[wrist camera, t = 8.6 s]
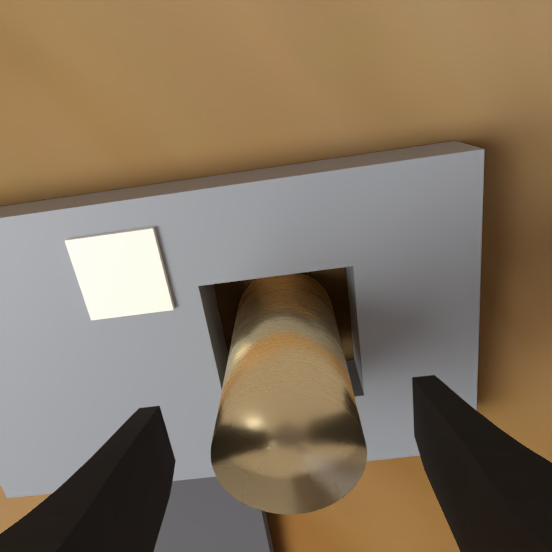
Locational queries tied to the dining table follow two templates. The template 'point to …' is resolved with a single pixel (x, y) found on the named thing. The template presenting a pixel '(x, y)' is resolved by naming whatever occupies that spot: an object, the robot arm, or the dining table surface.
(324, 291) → the shiny gold tapered cylinder
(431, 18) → the dining table surface
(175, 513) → the pad
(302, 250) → the plate
